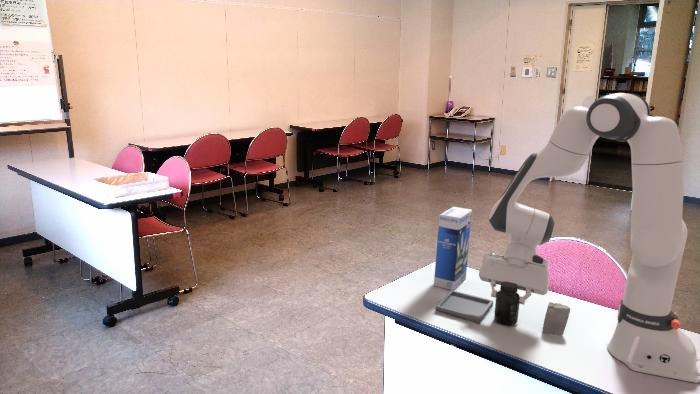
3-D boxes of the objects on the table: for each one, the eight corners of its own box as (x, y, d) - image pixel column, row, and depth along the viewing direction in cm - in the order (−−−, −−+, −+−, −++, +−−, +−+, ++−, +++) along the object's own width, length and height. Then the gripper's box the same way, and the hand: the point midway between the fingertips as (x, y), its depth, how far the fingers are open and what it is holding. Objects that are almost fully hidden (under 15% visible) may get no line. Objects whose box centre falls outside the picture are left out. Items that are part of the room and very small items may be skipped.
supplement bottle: (514, 316, 160) (519, 280, 157) (519, 327, 154) (524, 290, 151) (491, 314, 161) (495, 278, 158) (495, 325, 154) (499, 288, 151)
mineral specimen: (575, 334, 150) (573, 309, 148) (544, 338, 151) (542, 313, 148) (566, 320, 157) (564, 297, 155) (536, 324, 158) (534, 301, 156)
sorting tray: (492, 305, 167) (493, 300, 167) (479, 323, 155) (480, 318, 155) (450, 295, 174) (451, 290, 173) (435, 311, 162) (435, 306, 161)
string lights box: (453, 291, 177) (459, 218, 170) (432, 285, 180) (437, 214, 174) (466, 278, 188) (473, 209, 181) (446, 273, 191) (452, 205, 185)
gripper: (484, 247, 163) (471, 287, 158) (552, 261, 153) (542, 304, 148) (486, 256, 168) (474, 295, 162) (553, 270, 158) (543, 312, 153)
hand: (507, 299), depth 155 cm, fingers closed on supplement bottle, 7 cm apart
